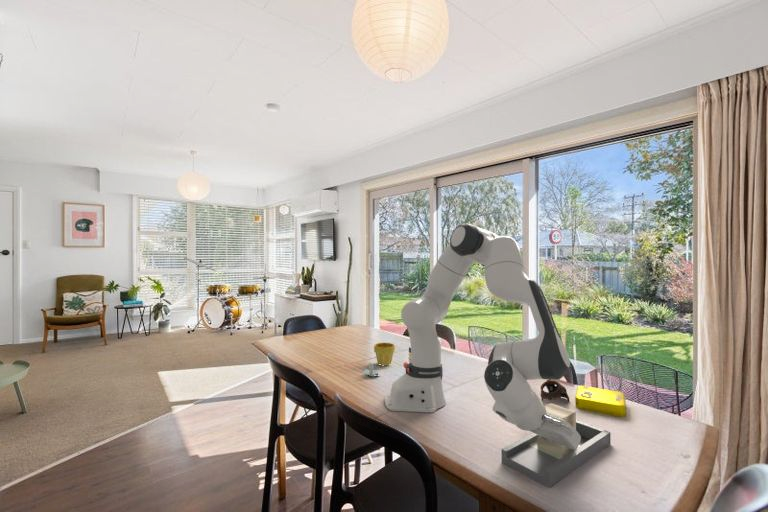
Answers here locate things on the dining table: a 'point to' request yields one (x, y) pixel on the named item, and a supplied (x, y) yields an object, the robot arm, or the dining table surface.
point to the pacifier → (370, 370)
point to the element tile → (600, 401)
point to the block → (564, 415)
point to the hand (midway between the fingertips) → (547, 437)
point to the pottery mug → (553, 390)
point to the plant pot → (384, 353)
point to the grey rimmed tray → (549, 465)
